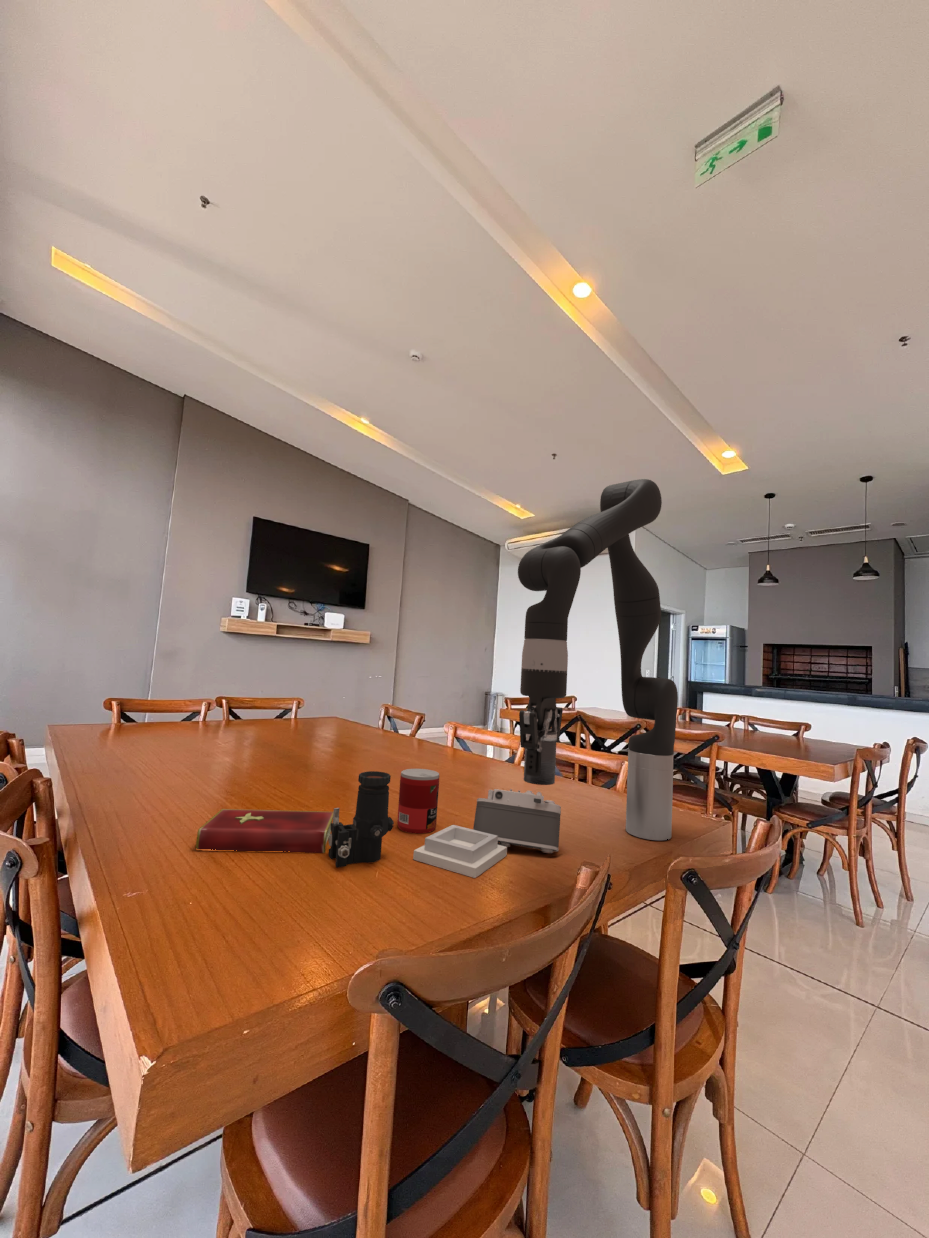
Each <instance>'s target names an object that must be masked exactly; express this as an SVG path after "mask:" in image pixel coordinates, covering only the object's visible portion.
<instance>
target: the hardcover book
mask: <svg viewBox="0 0 929 1238" xmlns="http://www.w3.org/2000/svg"><path fill="white" fill-rule="evenodd" d="M333 812H334V811H325V810H324V811H323V810H322V811H321V810H319V811H317V810H286V809H285V810H281V809H278V810H277V809H275V810H274V809H245V808H244V809H243V808H240V809H239V808H221V809H220V810H219V811H218V812H217V813H216V814H214V815H213V816H212V817H211V818H209V820H208V821H206V822H205V823H204V824H203V825H201V827H199V828H198V830H197V834H196V840H195V841H196V842H195V849H196V848H197V849H211V850H212V849H213V850H215V849H216V850H234V851H236V850H237V851H283V852H282V853H286V852H288V851H290V852H305V853H304V854H307V853H308V854H325V853H326V849H327V848H326V846H327V843H328V841H329V835H330V834H331V823H333ZM284 851H286V852H284Z"/></svg>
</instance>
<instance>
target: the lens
mask: <svg viewBox="0 0 929 1238" xmlns="http://www.w3.org/2000/svg"><path fill="white" fill-rule="evenodd" d="M537 731H539V730H537ZM526 737H527V735H526ZM556 740H557V732H555V731H549V730H548V733H547V737H546V738H544V739H543V745H542V751H541V752H542V753H541V774H540V775H539V776H531V775H527V774H526V759H527V750H525V749H524V760H523V761H524V764H523V765H524V766H523V781H524V782H525V783H528V784H533V785H537V786H550V785H555V783H556V780H555V779H556V762H557V761H556V760H557V757H556V756H557V742H556ZM531 741H532V737H531Z"/></svg>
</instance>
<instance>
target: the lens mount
mask: <svg viewBox="0 0 929 1238" xmlns="http://www.w3.org/2000/svg"><path fill="white" fill-rule="evenodd" d="M507 853H508V847H505V846H501V845H500V844H499V843H498V836H497V835H493V834H489V833H485V832H481V831H477V830H473V828H468V827H464V826H459V825H457V824H452V825H450V826H447V827H446V828H443V829H441V830H439V831H437V832H435V833H433V834H431V835H429V836H426V837H425V838H424V844H423V845H421V846H420V847H418V848H416V849H414V850H413V856H412V857H413V858H412V860H413V861H417V862H421V863H424V864H426V865H430V866H434V867H437V868H439V869H444V870H447V871H450V872H454V873H458V874H460V875H462V876H465V877H471V878H473V879H476V878H477V877H479V876H481V875H482V874H483V873H485V872H486V871H488V870H489V869H490V868H491V867H493V866H494V865H495V864H497V863H498V862H500V861H501V860H502V859H504V858H505V857H507Z"/></svg>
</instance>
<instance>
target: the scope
mask: <svg viewBox="0 0 929 1238" xmlns="http://www.w3.org/2000/svg"><path fill="white" fill-rule="evenodd" d="M391 776H392V775H390V773H388V772H384V771H377V770H376V771H375V770H373V771H370V770H369V771H363V772H360V773H359V774H358V782H359V785H358V791H357V798H356V805H355V807H356V808H355V815H354V817H353V818H352V823H349V824H343V823H342V822H341V821H340V809H341V808H340V807H334V808H333V811H332V812H333V819H332V823H331V832H330V835H329V838H328V845H329V848H328V853H327V854H328V857H329V859H330V860H334V859H335V863H334V865H335V867H336V868H343V867H345V868H346V867H347V866H348V865H352V864H361V863H362V864H364V863H366V864H371V863H377V862H379V861H380V860H381V856H382V844H383V843H382V842H383V837H384V836H386V835H387V833H388V832H391V831H392V830H393V828H394V820H393V818H391V817H390V816H389V799H390V798H389V797H390V792H389V791H390V787H389V784H390V783H391V778H392V777H391Z"/></svg>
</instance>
